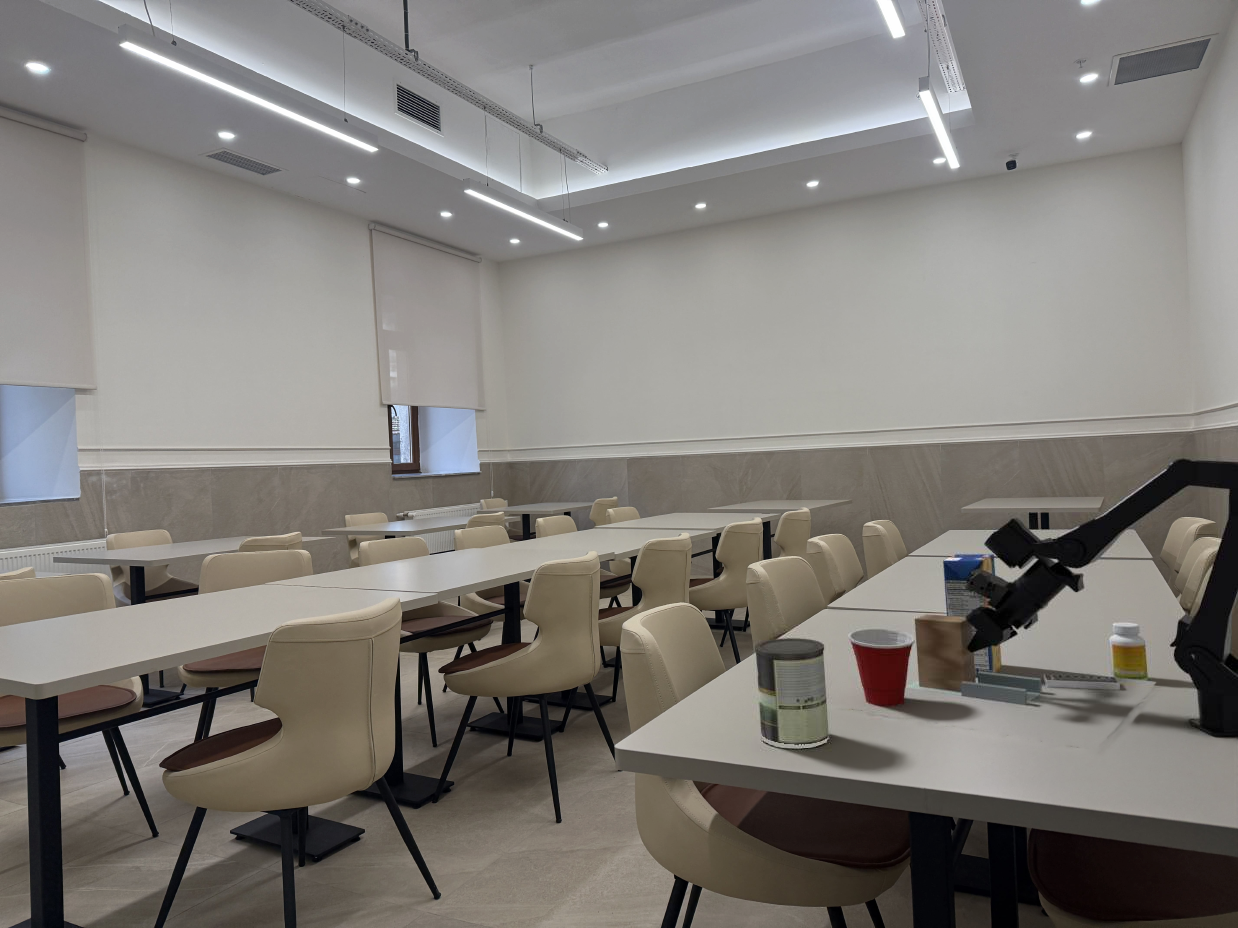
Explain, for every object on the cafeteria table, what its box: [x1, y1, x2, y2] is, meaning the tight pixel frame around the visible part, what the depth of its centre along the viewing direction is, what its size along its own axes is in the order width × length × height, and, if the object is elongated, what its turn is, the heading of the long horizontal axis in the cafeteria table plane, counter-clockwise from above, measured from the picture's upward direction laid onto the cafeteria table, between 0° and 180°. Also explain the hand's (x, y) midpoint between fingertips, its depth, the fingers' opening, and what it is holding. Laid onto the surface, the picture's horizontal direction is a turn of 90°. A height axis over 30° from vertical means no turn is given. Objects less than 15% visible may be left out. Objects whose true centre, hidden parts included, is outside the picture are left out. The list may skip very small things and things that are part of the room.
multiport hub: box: [1043, 673, 1121, 691], centre depth 136 cm, size 4×11×2 cm, turn 66°
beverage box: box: [942, 553, 1003, 678], centre depth 150 cm, size 7×11×22 cm, turn 145°
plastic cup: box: [847, 628, 916, 707], centre depth 134 cm, size 11×11×12 cm
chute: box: [905, 671, 1043, 706], centre depth 137 cm, size 20×9×3 cm, turn 46°
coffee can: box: [754, 637, 830, 745], centre depth 120 cm, size 10×10×14 cm
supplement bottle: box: [1108, 621, 1149, 682], centre depth 141 cm, size 5×5×10 cm
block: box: [914, 613, 977, 692], centre depth 140 cm, size 8×5×12 cm, turn 46°
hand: (969, 650), depth 137 cm, fingers closed, pressing on block
